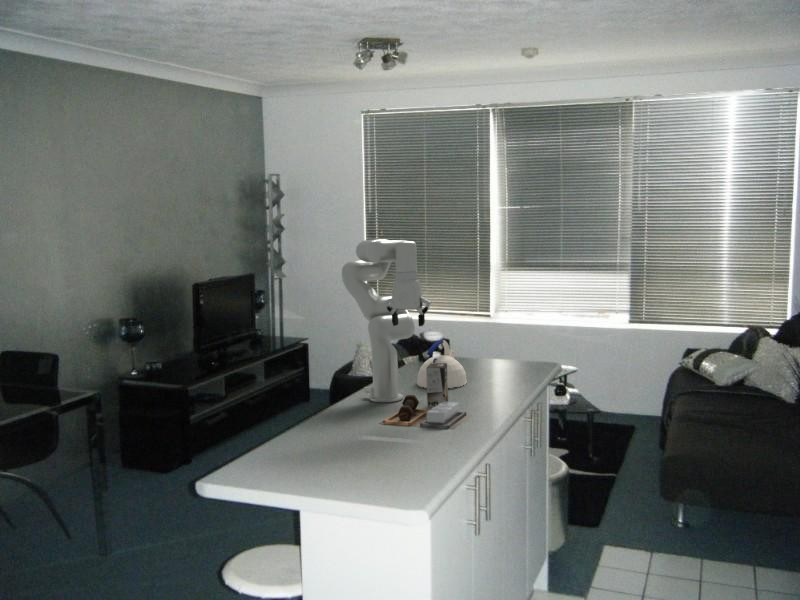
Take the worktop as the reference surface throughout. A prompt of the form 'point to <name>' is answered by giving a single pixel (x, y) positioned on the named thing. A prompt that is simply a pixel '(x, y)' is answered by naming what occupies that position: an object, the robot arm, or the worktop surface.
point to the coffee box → (436, 384)
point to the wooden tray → (423, 420)
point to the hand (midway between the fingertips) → (408, 325)
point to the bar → (443, 413)
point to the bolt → (408, 407)
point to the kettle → (453, 367)
